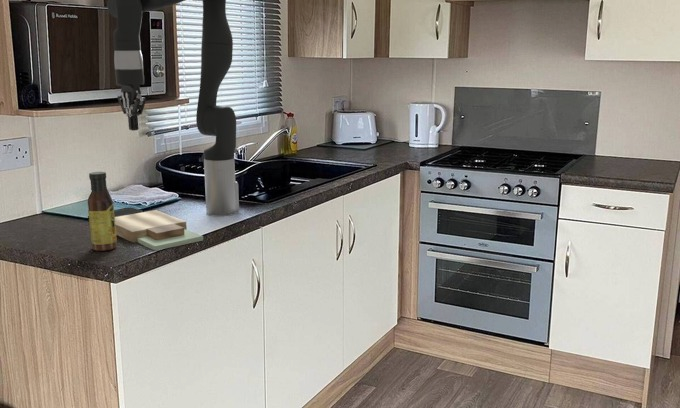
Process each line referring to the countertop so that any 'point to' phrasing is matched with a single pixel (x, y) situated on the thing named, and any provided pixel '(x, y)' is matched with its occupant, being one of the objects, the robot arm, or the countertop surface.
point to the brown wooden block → (165, 231)
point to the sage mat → (170, 240)
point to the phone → (126, 211)
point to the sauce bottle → (101, 214)
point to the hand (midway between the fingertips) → (133, 130)
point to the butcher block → (143, 224)
